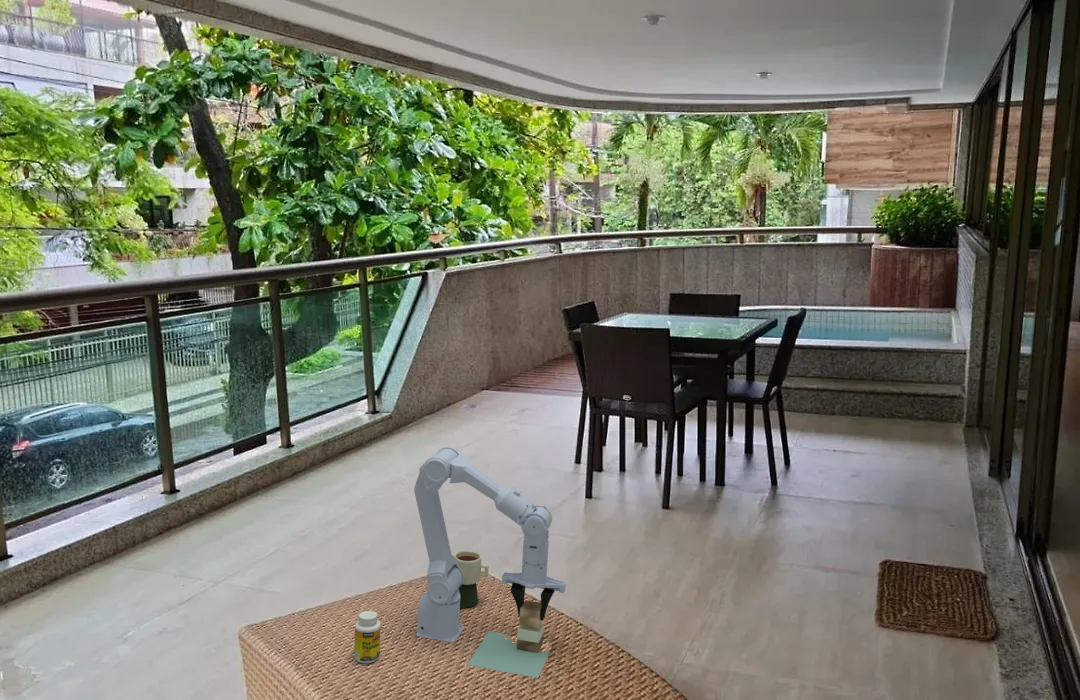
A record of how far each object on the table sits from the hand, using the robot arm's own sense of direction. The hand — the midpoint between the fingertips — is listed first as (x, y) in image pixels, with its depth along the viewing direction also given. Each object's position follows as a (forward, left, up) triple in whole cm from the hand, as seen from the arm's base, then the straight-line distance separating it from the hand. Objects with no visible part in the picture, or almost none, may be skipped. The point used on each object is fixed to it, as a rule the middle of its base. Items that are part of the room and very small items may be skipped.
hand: (531, 616), depth 194 cm
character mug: (-21, +16, -8) cm, 27 cm away
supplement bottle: (-33, -16, -8) cm, 38 cm away
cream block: (0, 0, -5) cm, 5 cm away
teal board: (-3, -4, -8) cm, 9 cm away
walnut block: (0, 0, -7) cm, 7 cm away
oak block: (0, 0, -1) cm, 1 cm away
